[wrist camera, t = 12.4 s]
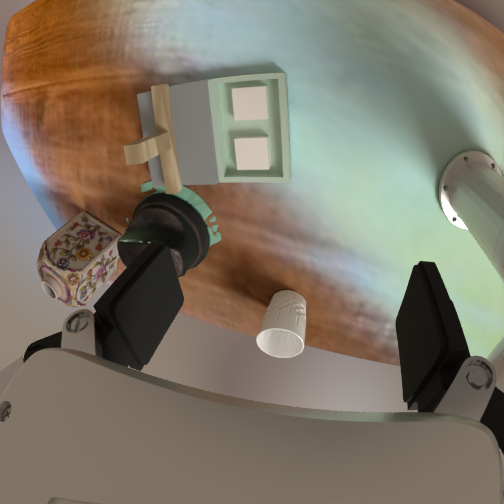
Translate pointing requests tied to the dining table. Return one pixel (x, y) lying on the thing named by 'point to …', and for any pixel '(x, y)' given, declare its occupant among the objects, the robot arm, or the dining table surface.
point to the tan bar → (159, 141)
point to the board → (185, 133)
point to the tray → (251, 127)
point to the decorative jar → (78, 260)
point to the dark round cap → (170, 227)
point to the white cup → (283, 325)
